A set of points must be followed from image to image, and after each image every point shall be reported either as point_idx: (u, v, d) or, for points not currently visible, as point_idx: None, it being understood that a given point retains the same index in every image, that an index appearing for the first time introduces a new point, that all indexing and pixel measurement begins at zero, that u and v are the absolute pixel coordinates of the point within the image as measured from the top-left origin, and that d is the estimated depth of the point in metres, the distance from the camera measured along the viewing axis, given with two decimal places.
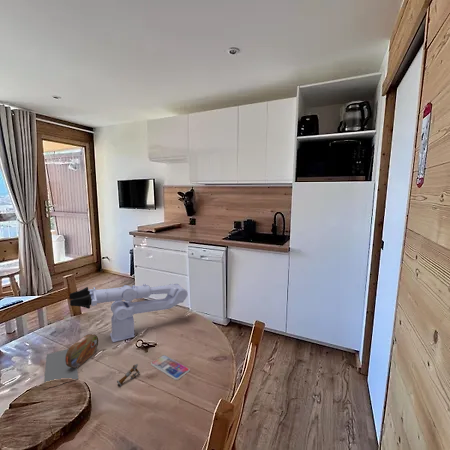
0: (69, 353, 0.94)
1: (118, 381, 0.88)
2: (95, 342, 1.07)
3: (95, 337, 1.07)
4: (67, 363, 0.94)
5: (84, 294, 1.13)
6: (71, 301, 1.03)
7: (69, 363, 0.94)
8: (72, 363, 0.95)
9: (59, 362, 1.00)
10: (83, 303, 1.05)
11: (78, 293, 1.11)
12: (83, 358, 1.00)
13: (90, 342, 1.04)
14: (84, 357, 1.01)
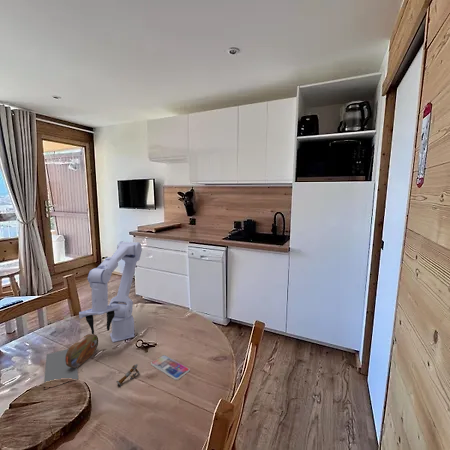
0: (69, 353, 0.94)
1: (118, 381, 0.88)
2: (95, 342, 1.07)
3: (95, 337, 1.07)
4: (67, 363, 0.94)
5: None
6: None
7: (69, 363, 0.94)
8: (72, 363, 0.95)
9: (59, 362, 1.00)
10: None
11: None
12: (83, 358, 1.00)
13: (90, 342, 1.04)
14: (84, 357, 1.01)
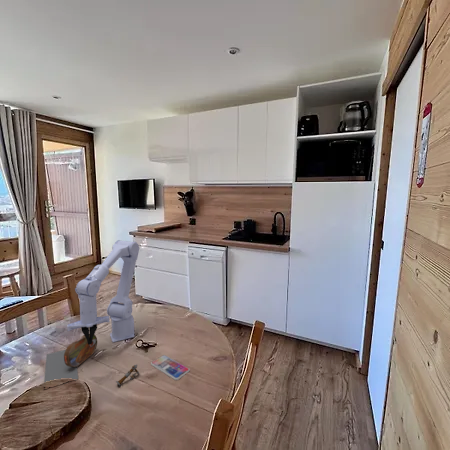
0: (67, 352, 0.95)
1: (117, 381, 0.88)
2: (94, 341, 1.07)
3: (93, 336, 1.07)
4: (66, 362, 0.94)
5: None
6: (91, 342, 1.02)
7: (68, 362, 0.94)
8: (71, 362, 0.95)
9: (59, 362, 1.00)
10: None
11: (89, 336, 1.01)
12: (83, 357, 1.00)
13: None
14: (84, 356, 1.01)
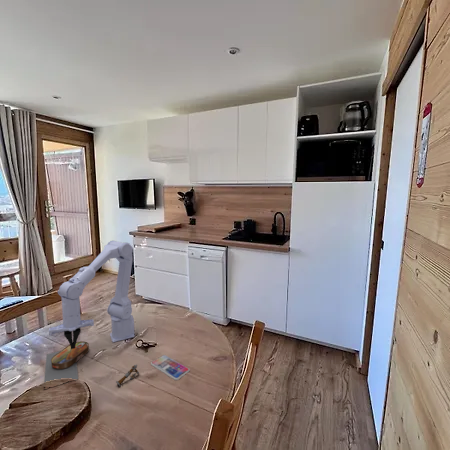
0: None
1: (117, 382, 0.88)
2: (82, 343, 1.08)
3: (78, 343, 1.09)
4: (57, 367, 0.95)
5: None
6: None
7: (57, 365, 0.95)
8: (61, 362, 0.96)
9: None
10: None
11: None
12: (75, 354, 1.01)
13: None
14: (76, 353, 1.01)
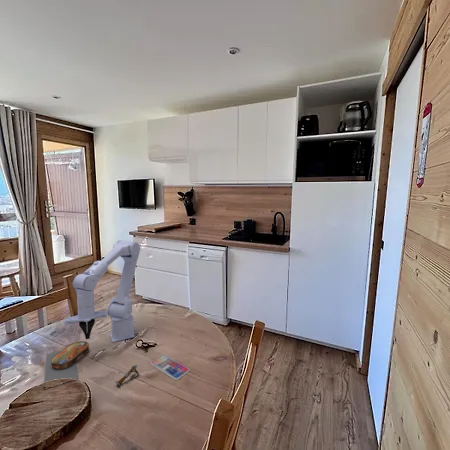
0: None
1: (117, 382, 0.88)
2: (82, 343, 1.08)
3: (78, 343, 1.09)
4: (57, 367, 0.95)
5: None
6: (89, 337, 1.01)
7: (57, 365, 0.95)
8: (61, 362, 0.96)
9: None
10: None
11: (86, 331, 1.00)
12: (75, 354, 1.01)
13: (74, 347, 1.05)
14: (76, 353, 1.01)
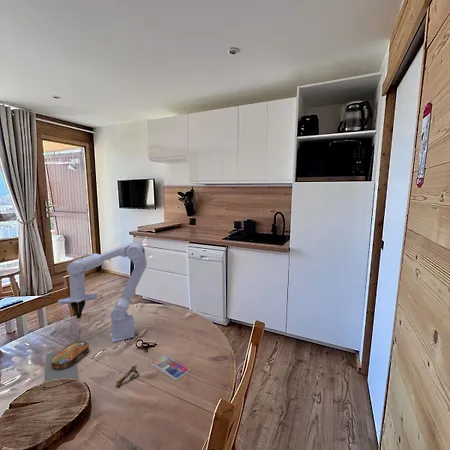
0: None
1: (117, 382, 0.88)
2: (82, 343, 1.08)
3: (78, 343, 1.09)
4: (57, 367, 0.95)
5: None
6: (80, 316, 1.14)
7: (57, 365, 0.95)
8: (61, 362, 0.96)
9: None
10: None
11: None
12: (75, 354, 1.01)
13: (74, 347, 1.05)
14: (76, 353, 1.01)
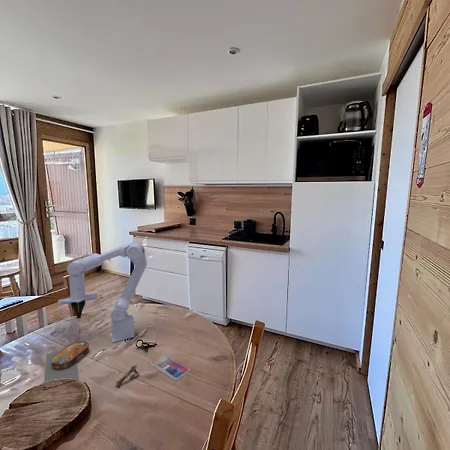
0: None
1: (117, 382, 0.88)
2: (82, 343, 1.08)
3: (78, 343, 1.09)
4: (57, 367, 0.95)
5: None
6: (80, 316, 1.14)
7: (57, 365, 0.95)
8: (61, 362, 0.96)
9: None
10: None
11: None
12: (75, 354, 1.01)
13: (74, 347, 1.05)
14: (76, 353, 1.01)
